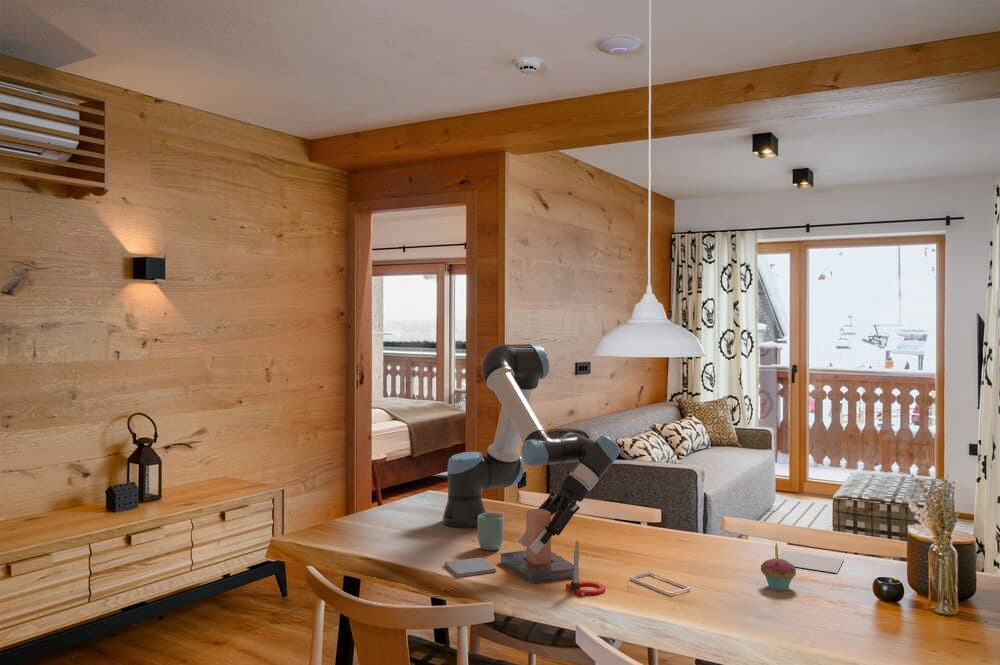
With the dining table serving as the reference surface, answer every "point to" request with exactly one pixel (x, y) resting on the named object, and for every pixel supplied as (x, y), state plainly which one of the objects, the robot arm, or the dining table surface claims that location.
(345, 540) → the dining table surface
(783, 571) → the cupcake
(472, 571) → the pad
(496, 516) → the cup
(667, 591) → the phone case
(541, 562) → the peg
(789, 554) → the paper stack
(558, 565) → the socket block
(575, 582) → the tow hook
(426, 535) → the dining table surface
